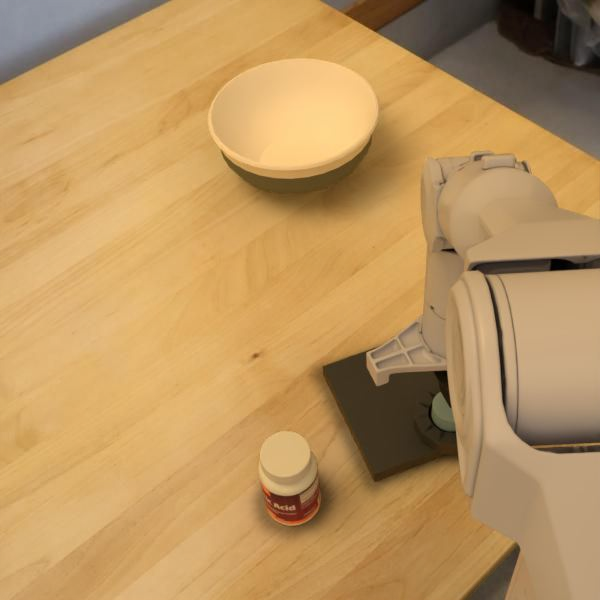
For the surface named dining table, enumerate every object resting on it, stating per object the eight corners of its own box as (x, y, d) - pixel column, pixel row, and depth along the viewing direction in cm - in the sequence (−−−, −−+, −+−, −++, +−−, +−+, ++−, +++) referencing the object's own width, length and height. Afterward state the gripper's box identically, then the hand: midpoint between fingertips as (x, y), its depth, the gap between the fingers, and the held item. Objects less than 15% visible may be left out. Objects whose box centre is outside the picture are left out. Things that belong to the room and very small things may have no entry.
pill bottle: (254, 509, 72) (241, 461, 66) (287, 466, 74) (277, 416, 68) (300, 538, 70) (292, 492, 64) (332, 493, 73) (327, 444, 66)
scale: (496, 447, 74) (499, 429, 72) (379, 492, 72) (379, 476, 70) (429, 336, 82) (431, 317, 80) (322, 374, 80) (321, 356, 78)
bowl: (382, 222, 92) (382, 165, 86) (210, 226, 93) (198, 170, 87) (378, 111, 104) (377, 53, 97) (225, 116, 105) (215, 60, 99)
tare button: (475, 424, 73) (477, 413, 71) (441, 437, 72) (442, 426, 71) (458, 395, 75) (459, 383, 73) (425, 407, 74) (425, 396, 73)
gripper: (527, 225, 64) (506, 332, 75) (348, 285, 62) (353, 388, 72) (578, 291, 60) (548, 395, 70) (388, 359, 57) (387, 456, 68)
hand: (452, 396), depth 71 cm, fingers closed
